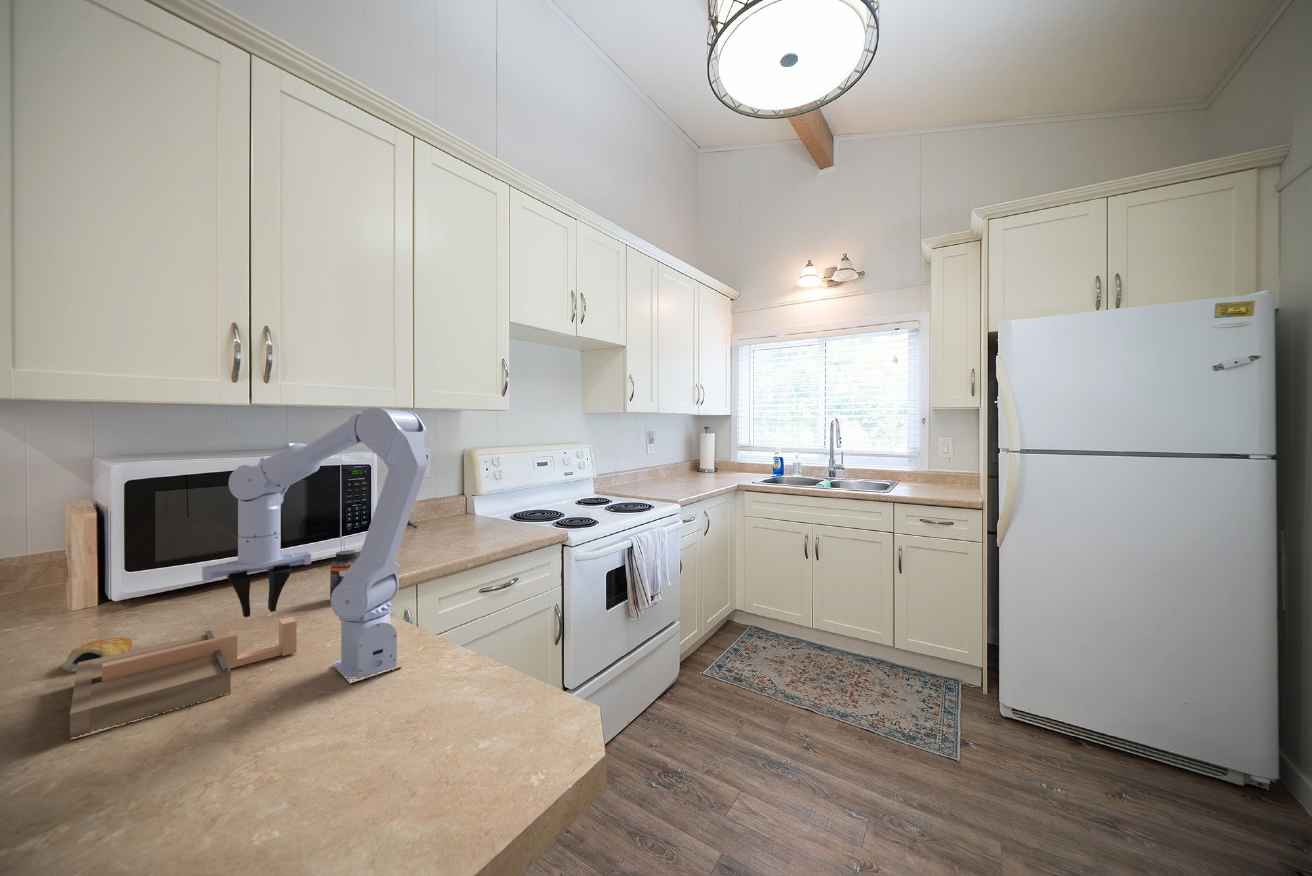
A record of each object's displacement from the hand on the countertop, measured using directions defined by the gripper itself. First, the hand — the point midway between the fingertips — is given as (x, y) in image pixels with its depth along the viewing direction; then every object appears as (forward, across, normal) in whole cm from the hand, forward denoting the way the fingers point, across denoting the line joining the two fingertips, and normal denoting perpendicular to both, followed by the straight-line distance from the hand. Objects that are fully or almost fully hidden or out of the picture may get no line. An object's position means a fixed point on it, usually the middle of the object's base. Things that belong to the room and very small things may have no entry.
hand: (259, 612), depth 85 cm
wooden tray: (+8, +12, 0) cm, 15 cm away
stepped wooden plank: (+8, +6, 0) cm, 10 cm away
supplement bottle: (+9, -20, -25) cm, 33 cm away
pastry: (+9, +18, -20) cm, 29 cm away
